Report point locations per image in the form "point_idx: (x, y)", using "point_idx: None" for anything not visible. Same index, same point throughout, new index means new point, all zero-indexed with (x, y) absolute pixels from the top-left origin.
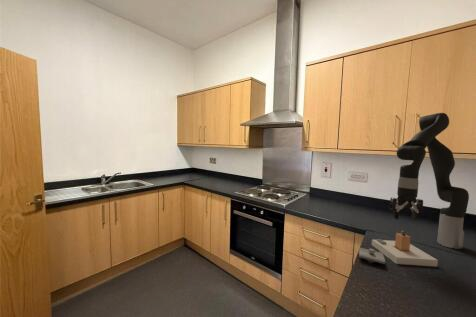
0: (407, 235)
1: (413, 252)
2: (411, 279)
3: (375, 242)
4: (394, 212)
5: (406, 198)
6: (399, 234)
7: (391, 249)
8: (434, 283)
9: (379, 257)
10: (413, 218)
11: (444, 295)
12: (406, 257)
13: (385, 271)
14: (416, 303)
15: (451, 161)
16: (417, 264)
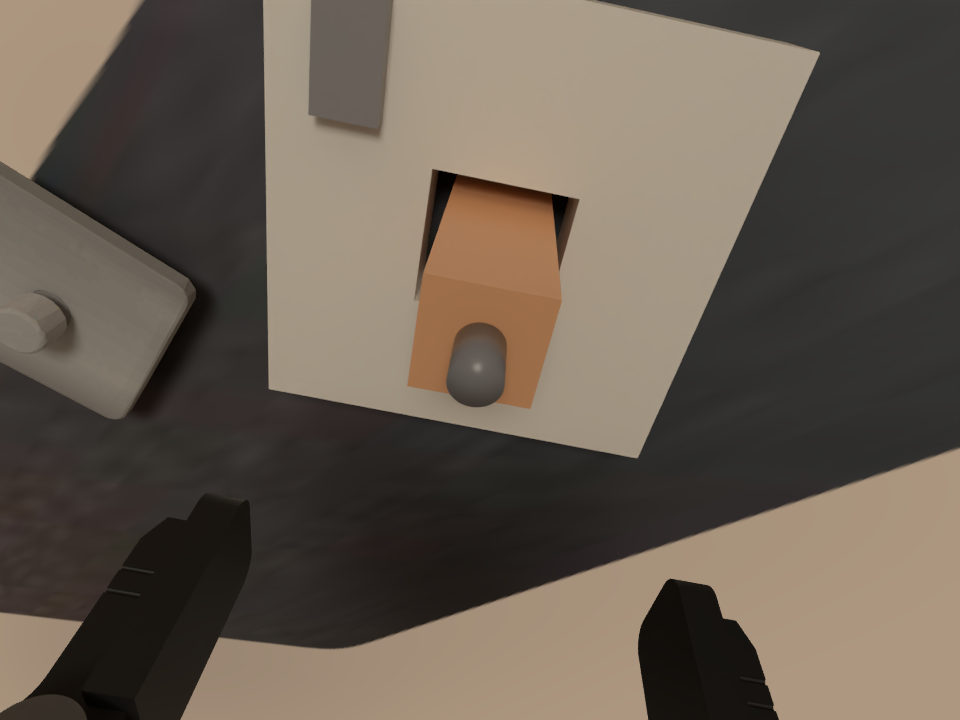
0: (541, 361)
1: None
2: (254, 496)
3: (267, 34)
4: (82, 675)
5: None
6: (436, 321)
7: (339, 255)
8: (372, 534)
9: (100, 367)
10: (655, 644)
11: (327, 590)
12: (367, 398)
13: (127, 420)
14: None
15: None
16: None
